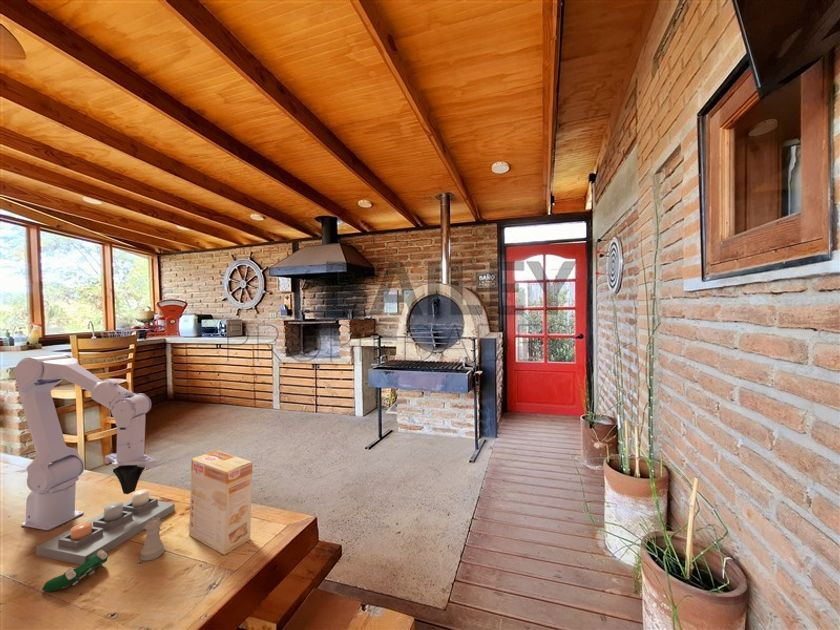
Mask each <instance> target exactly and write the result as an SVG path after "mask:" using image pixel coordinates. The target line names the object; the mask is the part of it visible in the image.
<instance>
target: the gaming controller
mask: <svg viewBox="0 0 840 630" xmlns="http://www.w3.org/2000/svg"><path fill="white" fill-rule="evenodd" d="M107 553H108V552H106V553H105V552H104V551H103V550H99V551H98V553H97V554H94V555H92V556H91V557H90V558H89V560H88V561H87V562H86V563H84V564H82V565H80V564H79V566H78V567H76V568H73V567H67V569H66V571H65V572H64V573H62V574H60V575H58V576H55V577H52V578H51V579H49V580H47V581H46V582H45V583H44V584H43V586H42V589H41V590H42V592H53V591H58V590H61V589H63V588H66V587H67V588H68V586H72V587H73V586H75V585H77V584H78V583H80V581H79V580H80V578H82V577H84V576H91V575H93V574H94V573H95V572H96V569H97V568H99V567H101V566H102V565H103V564H104V563H106V562H107V561H108V558H109V554H107Z"/></svg>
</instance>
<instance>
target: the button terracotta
mask: <svg viewBox="0 0 840 630" xmlns="http://www.w3.org/2000/svg"><path fill="white" fill-rule="evenodd" d="M70 530H71V539H72V540H77V541H78V540H80V539H82V538H84V537H86V536H88V535H89V534H91V533H92V522H86V521H83V522H81V523H78V524H76V525H74V526H72V527H71V528H70Z"/></svg>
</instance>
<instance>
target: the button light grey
mask: <svg viewBox="0 0 840 630" xmlns="http://www.w3.org/2000/svg"><path fill="white" fill-rule="evenodd" d="M123 503H124V502H113V503H111V504H108V505H105V507H104V509H103V513H104V522H112V521H115V520H117V519H119V518H121V517H122V516H123Z"/></svg>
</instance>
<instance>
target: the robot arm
mask: <svg viewBox="0 0 840 630" xmlns="http://www.w3.org/2000/svg"><path fill="white" fill-rule="evenodd" d="M12 371H13V374H14V379H15V382H16V385H17V388H18V390H17V391H18V396H19V398H20V402H21V405H22V408H23V412H24V416H25V419H26V422H27V426H28V430H29V432H30V437H31V440H32V443H33V446H34V450H35V453H36V456H35V457H34V458H33V459H32V461H31V462H30V463H29V464H28V465H27V466H26V471H27V478H26V485H27V487H28V489H29V490H30V492H29V494H28V495H27V497H26V502H25V506H26V508H25V521H23V522H21V523H20V525H21V526H23V527H28V528H33V529H38V530H43V531H50V530H53V529H55V528H57V527H59V526H61V525H63V524H65V523H67V522H69V521H71V520H74V519H75V518H77V517H79V516H82V515H83V514H84V513H85V512H84V511H81V510H76V488H77V481H79V477H80V476H81V475H82V474H83V473H84V472H85V468H86V464H85V460H84V459H83V457H81V456H80V454H79V452H78V449H76V448H73V447H69V446H67V445H66V441H65V438H64V435H63V430H62V426H61V422H60V420H59V417H58V413H57V409H56V406H55V403H54V399H53V396H52V392H51V391H52V390H54V387H55V386H56V385H58V384H60V383H61V382H63V380H65V381H68V382H70V383H72V384H74V385H76V386H78V387H80V388H82V389H84V390H86V391H88V392H90V399H91V400H94V401H95V402H97V403H99V404H100V405H102V406H103V407H105V408H107V409H109V410H110V411H111V416H112V417H113V419H114V420H115V426H116V427H117V428H116V430H117V431H116V453H110V454H107V455H105V457H104V463H105V464H110V463H111V466H112V467H115V468H113V469H112V473H113V474H115V476H116V477H117V479H118V481H119V484H120V487H121V489H122V494H123V495H129V494H131V493H134V492H136V489H137V485H138V483H139V479H141V478H140V477H141V475H142V473H143V472H144V470H151V469H153V468H155V467H156V466H157V459H156V458H153V457H150V456H148V455H147V454H145V444H146V443H145V440H146V439H145V437H146V413H148V412H149V411H151V409H152V400H151V399H150V397H149V396H147V395H146V393H141V392H140V393H135V392H133V391H132V390H128V389H127V388H125V387H123V386H121V385H120V384H119V382H118V381H116V380H104V381H103V380H102V379H100V378H98V376H96V375H95V374H93V373H92V372H90V371H89V370H88V369H86V368H85V367H83V366H82V365H80V364H79V359H77V358H75V357H73V356H71V355H70V354H68V353H60V354H54V355H46V356H45V355H44V356H34V357H33V356H28V357H24V358H22V359H21V360H19V362H18V363H17V364H16V366H15V367H14V368H13V370H12Z"/></svg>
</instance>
